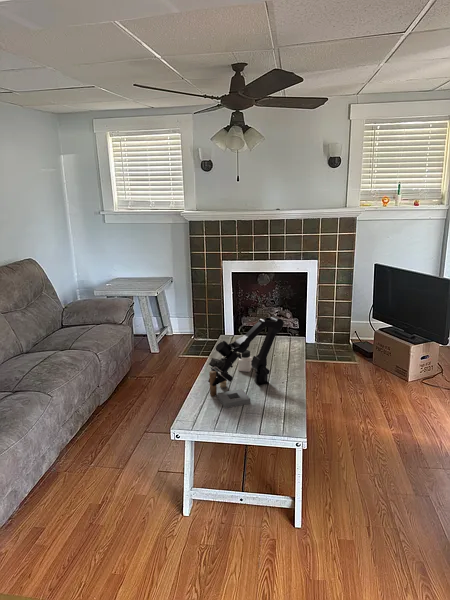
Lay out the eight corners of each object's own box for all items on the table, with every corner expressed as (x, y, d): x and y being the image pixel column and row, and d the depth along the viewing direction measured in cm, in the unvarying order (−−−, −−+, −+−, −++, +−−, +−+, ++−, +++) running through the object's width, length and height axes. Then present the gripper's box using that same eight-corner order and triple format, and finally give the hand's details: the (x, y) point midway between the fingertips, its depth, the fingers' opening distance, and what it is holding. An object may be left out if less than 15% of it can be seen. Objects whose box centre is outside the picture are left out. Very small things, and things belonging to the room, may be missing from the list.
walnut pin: (215, 392, 230) (215, 370, 227) (217, 395, 227) (217, 373, 224) (209, 393, 229) (208, 371, 226) (211, 396, 226) (210, 374, 223)
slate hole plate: (242, 392, 229) (241, 388, 229) (250, 403, 218) (250, 398, 218) (217, 397, 225) (217, 393, 224) (224, 408, 214) (224, 403, 213)
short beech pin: (225, 384, 239) (225, 374, 238) (227, 387, 236) (227, 377, 234) (219, 385, 238) (218, 375, 237) (221, 388, 235) (221, 378, 233)
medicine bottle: (252, 367, 261) (252, 349, 258) (249, 372, 255) (249, 353, 251) (241, 366, 263) (240, 348, 260) (238, 371, 256) (238, 352, 253)
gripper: (211, 347, 232) (193, 369, 230) (227, 358, 216) (208, 383, 214) (224, 357, 237) (207, 379, 235) (240, 369, 221) (222, 393, 219)
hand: (210, 383), depth 226 cm, fingers open, 5 cm apart
